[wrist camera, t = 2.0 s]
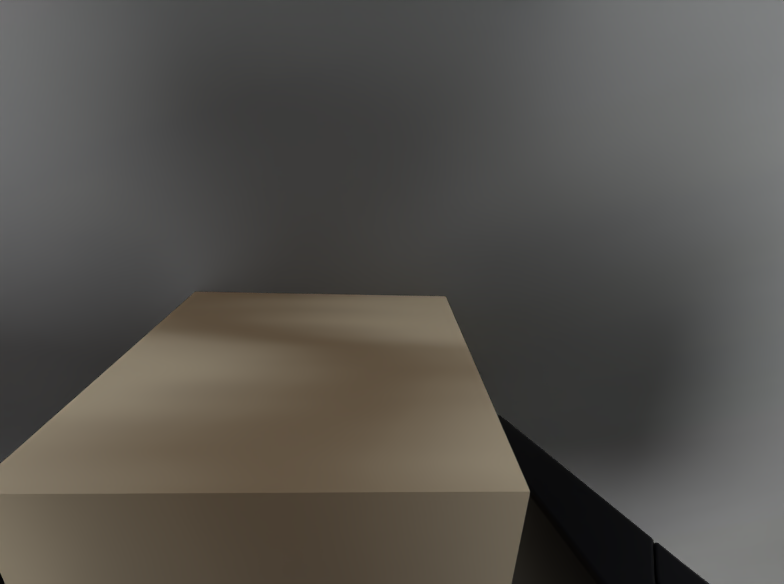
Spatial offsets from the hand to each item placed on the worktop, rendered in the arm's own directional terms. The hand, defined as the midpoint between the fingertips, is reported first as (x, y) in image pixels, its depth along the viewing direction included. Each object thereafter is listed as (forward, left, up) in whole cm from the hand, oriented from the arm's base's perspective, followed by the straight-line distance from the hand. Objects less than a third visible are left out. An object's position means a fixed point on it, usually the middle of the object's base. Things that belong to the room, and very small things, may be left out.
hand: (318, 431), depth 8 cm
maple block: (0, 0, -1) cm, 1 cm away
